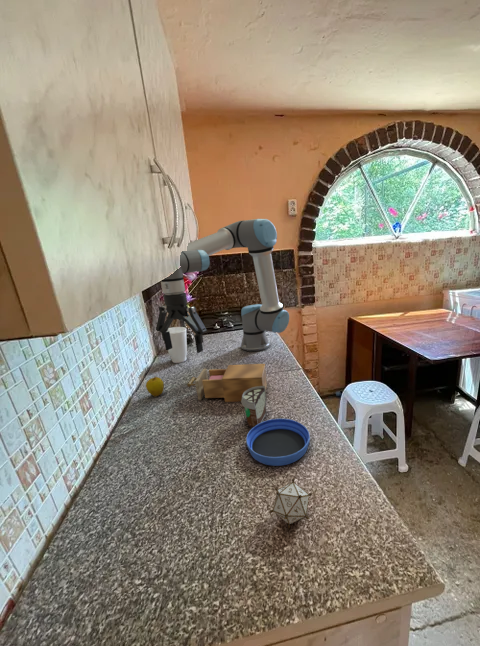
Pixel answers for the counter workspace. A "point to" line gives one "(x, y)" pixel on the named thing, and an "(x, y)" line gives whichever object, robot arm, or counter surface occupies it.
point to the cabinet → (242, 380)
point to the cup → (178, 344)
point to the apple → (155, 386)
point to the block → (216, 377)
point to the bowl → (278, 441)
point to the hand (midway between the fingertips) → (184, 350)
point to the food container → (254, 405)
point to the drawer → (208, 384)
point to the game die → (291, 503)
